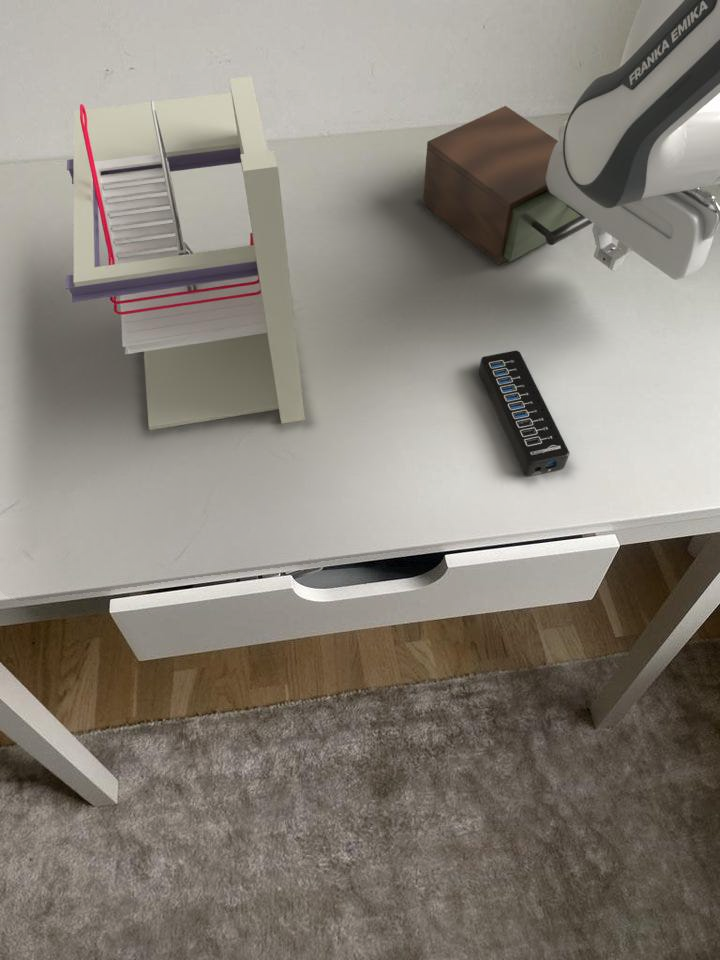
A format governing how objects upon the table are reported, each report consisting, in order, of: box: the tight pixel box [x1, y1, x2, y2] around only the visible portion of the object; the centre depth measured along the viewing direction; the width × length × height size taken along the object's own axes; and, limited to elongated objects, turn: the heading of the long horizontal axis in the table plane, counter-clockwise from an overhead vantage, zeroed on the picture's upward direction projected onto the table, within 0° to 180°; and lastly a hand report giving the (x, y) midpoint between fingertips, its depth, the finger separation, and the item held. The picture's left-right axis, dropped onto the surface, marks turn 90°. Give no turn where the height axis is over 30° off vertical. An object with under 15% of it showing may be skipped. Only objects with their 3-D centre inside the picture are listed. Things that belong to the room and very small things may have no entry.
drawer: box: [504, 190, 594, 262], centre depth 93 cm, size 18×12×7 cm, turn 36°
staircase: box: [65, 75, 306, 431], centre depth 74 cm, size 27×18×30 cm
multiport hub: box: [478, 350, 571, 477], centre depth 79 cm, size 4×14×2 cm, turn 14°
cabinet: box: [422, 105, 559, 265], centre depth 95 cm, size 15×13×9 cm
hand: (607, 262), depth 87 cm, fingers closed
